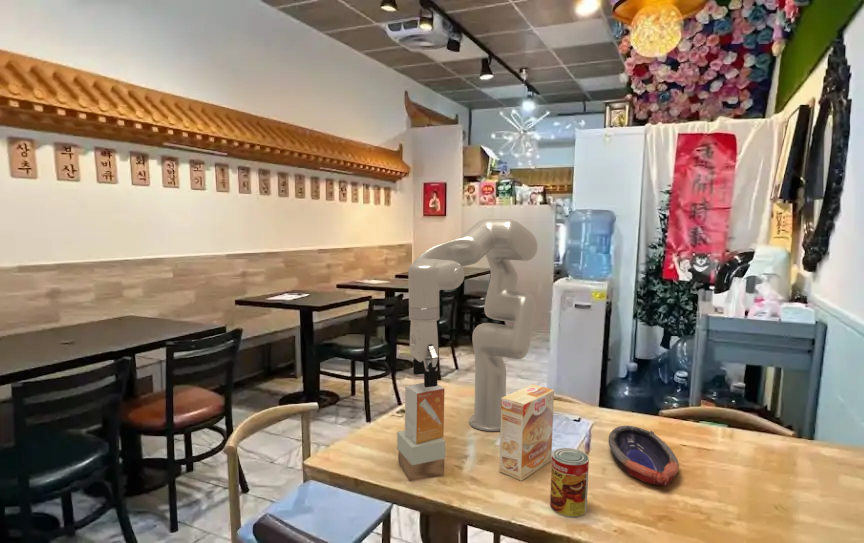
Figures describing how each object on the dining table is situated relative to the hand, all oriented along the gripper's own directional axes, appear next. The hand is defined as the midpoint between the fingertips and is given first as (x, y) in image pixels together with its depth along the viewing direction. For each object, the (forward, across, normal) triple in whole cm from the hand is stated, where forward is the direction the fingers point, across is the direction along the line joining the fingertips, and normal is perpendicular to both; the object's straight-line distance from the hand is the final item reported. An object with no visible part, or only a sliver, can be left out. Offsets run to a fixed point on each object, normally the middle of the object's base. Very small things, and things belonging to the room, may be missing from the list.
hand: (425, 379), depth 131 cm
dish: (+25, +14, +55) cm, 62 cm away
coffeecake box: (+24, +7, +25) cm, 35 cm away
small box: (+15, +1, -1) cm, 15 cm away
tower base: (+24, 0, -2) cm, 24 cm away
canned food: (+24, +27, +25) cm, 44 cm away
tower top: (+19, 0, -2) cm, 19 cm away
